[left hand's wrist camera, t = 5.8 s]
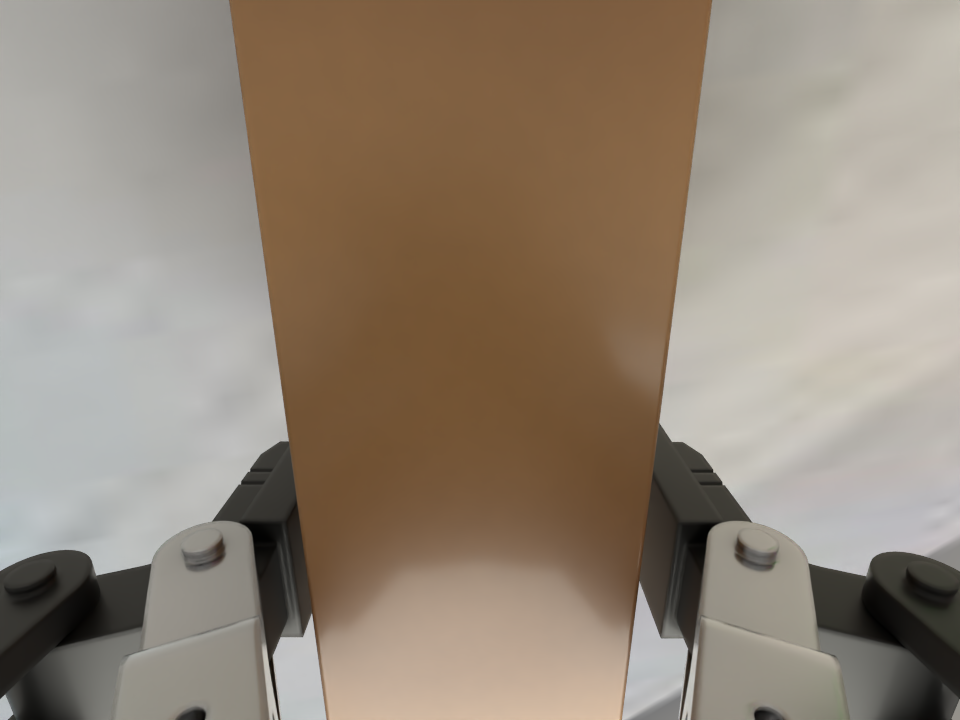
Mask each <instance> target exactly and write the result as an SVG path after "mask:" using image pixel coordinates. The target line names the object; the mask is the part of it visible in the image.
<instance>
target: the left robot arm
mask: <svg viewBox="0 0 960 720" xmlns="http://www.w3.org/2000/svg"><path fill="white" fill-rule="evenodd" d="M639 581H640V583H641V586H642V589H643V592H644V594H645V597H646V600H647V602H648V605H649V608H650V610H651V613H652V616H653V618H654V621H655V624H656V626H657V629H658V632H659V634H660V637H661V638H684V640H685V643H686V645H687V647H688V653H687V659H686V664H685V671H684V679H683V687H682V695H681V703H680V711H679V718H678V720H952V719H951V718H952V716H953V713H954V711H955V708H956V706H957V704H958V701H959V699H960V572H959V571H958V570H956V569H954V568H952V567H950V566H948V565H946V564H943V563H941V562H939V561H936V560H933V559H931V558H927V557H924V556H921V555H916V554H912V553H906V552H886V553H881V554H879V555H877V556H875V557H874V558H873V559H872V561H871V563H870V566H869V569H868V573H867V576H861V575H857V574H852V573H847V572H842V571H838V570H833V569H828V568H823V567H819V566H815V565H812V564H809V563H808V560H807V557H806V555H805V553H804V551H803V550H802V549H801V548H800V547H799V546H798V545H797V544H796V543H795V542H794V541H793V540H791V539H790V538H789V537H787V536H786V535H784V534H782V533H780V532H778V531H776V530H774V529H772V528H769V527H767V526H764V525H760V524H757V523H752V522H751V520H750V519H749V518H748V516H747V515H746V513H745V512H744V511H743V509H742V508H741V507H740V505H739V504H738V503H737V501H736V500H735V499H734V497H733V496H732V495H731V493H730V492H729V490H728V489H727V488H726V486H725V485H722V481H721V480H720V478H719V477H718V476H717V474H716V473H713V469H712V468H711V466H710V465H709V463H708V462H707V461H706V459H705V458H704V457H703V455H702V454H700V453H698V452H697V451H695V450H694V449H692V448H691V447H689V446H688V445H686V444H685V443H683V442H672V441H671V440H670V438H669V437H668V435H667V434H666V433H665V431H664V430H663V428H662V427H661V425H660V424H659V428H658V435H657V443H656V451H655V459H654V467H653V475H652V483H651V491H650V499H649V507H648V515H647V523H646V531H645V539H644V547H643V555H642V563H641V570H640V578H639ZM311 614H312V608H311V600H310V593H309V585H308V578H307V571H306V563H305V556H304V549H303V541H302V534H301V526H300V519H299V512H298V504H297V497H296V490H295V482H294V475H293V467H292V460H291V453H290V445H289V442H279V443H277V444H276V445H274V446H273V447H271V448H270V449H268V450H267V451H265V452H264V453H262V454H261V455H260V457H259V458H258V459H257V461H256V462H255V463H254V465H253V466H252V467H251V469H250V472H248V473H247V474H246V476H245V477H244V478H243V480H242V481H241V485H238V487H237V488H236V489H235V491H234V492H233V493H232V495H231V496H230V498H229V499H228V500H227V502H226V503H225V504H224V506H223V507H222V509H221V510H220V511H219V513H218V514H217V515H216V517H215V518H214V520H213V521H212V522H208V523H203V524H200V525H196V526H193V527H191V528H188V529H186V530H184V531H182V532H180V533H178V534H176V535H174V536H173V537H171V538H170V539H169V540H167V541H166V542H165V543H164V544H163V545H162V546H161V547H160V548H159V549H158V550H157V551H156V553H155V555H154V557H153V560H152V564H149V565H145V566H140V567H136V568H131V569H126V570H121V571H117V572H112V573H107V574H102V575H98V576H96V574H95V570H94V567H93V564H92V561H91V559H90V557H89V556H88V555H87V554H85V553H83V552H80V551H75V550H59V551H52V552H47V553H43V554H39V555H36V556H33V557H29V558H27V559H24V560H22V561H19V562H17V563H15V564H13V565H11V566H9V567H7V568H5V569H3V570H2V571H0V699H1V698H2V697H3V696H4V695H5V694H6V697H7V699H8V702H9V704H10V706H11V709H12V711H13V715H12V716H11V717H10V718H9V719H8V720H282V718H281V711H280V703H279V695H278V687H277V679H276V671H275V664H274V659H273V654H274V651H275V649H276V647H277V644H278V642H279V639H280V637H303V635H304V633H305V630H306V627H307V625H308V622H309V619H310V616H311Z"/></svg>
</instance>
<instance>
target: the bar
mask: <svg viewBox="0 0 960 720" xmlns="http://www.w3.org/2000/svg"><path fill="white" fill-rule="evenodd" d="M229 3H230V10H231V18H232V25H233V32H234V40H235V47H236V54H237V62H238V69H239V77H240V84H241V91H242V99H243V106H244V113H245V121H246V128H247V136H248V143H249V150H250V158H251V165H252V172H253V180H254V187H255V195H256V202H257V209H258V217H259V224H260V231H261V239H262V246H263V254H264V261H265V268H266V276H267V283H268V290H269V298H270V305H271V313H272V320H273V327H274V335H275V342H276V349H277V357H278V364H279V372H280V379H281V386H282V394H283V401H284V408H285V416H286V423H287V431H288V438H289V445H290V453H291V460H292V467H293V475H294V482H295V490H296V497H297V504H298V512H299V519H300V526H301V534H302V541H303V549H304V556H305V563H306V571H307V578H308V585H309V593H310V600H311V608H312V615H313V622H314V630H315V637H316V644H317V652H318V659H319V667H320V674H321V681H322V689H323V696H324V704H325V711H326V718H327V720H622V713H623V705H624V698H625V690H626V682H627V674H628V666H629V658H630V650H631V642H632V634H633V626H634V618H635V610H636V602H637V594H638V586H639V578H640V570H641V563H642V555H643V547H644V539H645V531H646V523H647V515H648V507H649V499H650V491H651V483H652V475H653V467H654V459H655V451H656V443H657V435H658V428H659V420H660V412H661V404H662V396H663V388H664V380H665V372H666V364H667V356H668V348H669V340H670V332H671V324H672V316H673V308H674V300H675V293H676V285H677V277H678V269H679V261H680V253H681V245H682V237H683V229H684V221H685V213H686V205H687V197H688V189H689V181H690V173H691V165H692V158H693V150H694V142H695V134H696V126H697V118H698V110H699V102H700V94H701V86H702V78H703V70H704V62H705V54H706V46H707V38H708V30H709V22H710V15H711V7H712V0H229Z"/></svg>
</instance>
